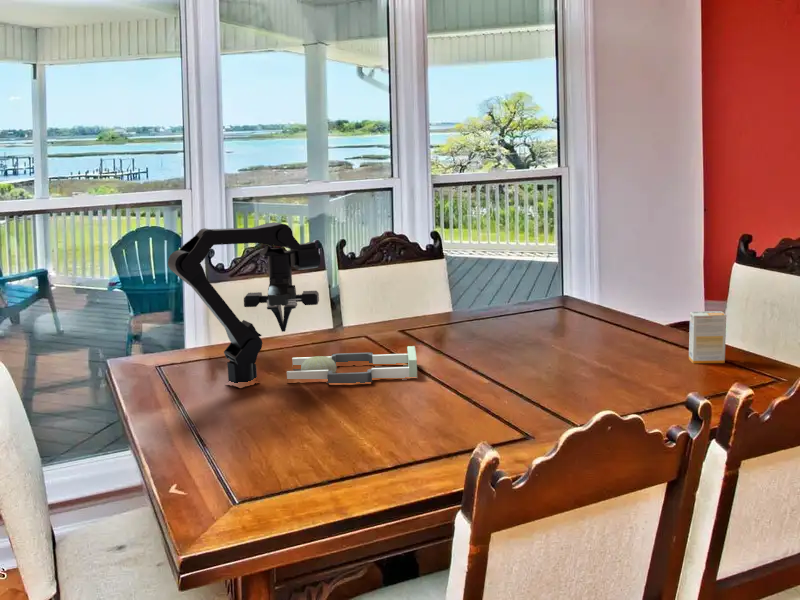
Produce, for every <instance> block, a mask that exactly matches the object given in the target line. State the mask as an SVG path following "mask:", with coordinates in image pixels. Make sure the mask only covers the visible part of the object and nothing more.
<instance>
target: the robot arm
mask: <svg viewBox="0 0 800 600" xmlns="http://www.w3.org/2000/svg"><path fill="white" fill-rule="evenodd" d="M241 244H242V245H243V244H263V245H265V246H264V248H263V249H262V250H261V251H259V255H260V256H262V257H268V258H267V261H268V280H269V285H268V289H267V295H263V293H262V292H257V291H256V292H248V293H247V294H246V295H245V296H244V297H243V307H244V308H256V307H258V306H259V305H260V304H266V310H269V311H272V313H273V314H274V317H275V319H276V320H277V323H278V325H279V327H280V331H281V332H282V333H285V332H286V330H287V326H288V322H289V318H290V315H291V313H292V310H293V309H296V308H297V306H298V302H299V303H300V302H301V303H302V304H303V305H304V306H315V305H318V304H319V302H320V295H319V294H320V293H319V292H318V291H317V290H303V291H302V292H301V294H300V293H299V294H297V289H296V285H295V284H294V285H293V276H292V273H293V272H292V267H293V268H294V269H295V270H296V271H300V270H309V269H316V268H319V267H320V265H321V255H320V252H319V250H318V248H317V243H316V242H313V241H309V242H305V243H299V242H298V240H297V239H296V238H295V237H294V235H293V230H292V229H291V227H290V226H289V225H288V224H287V223H286V224H285V223H280V222H268V223H263V224H260V225H257V226H253V227H240V228H239V227H237V228H235V227H234V228H202V229H200V230H198V232H197V233H196V234H195V235H194V236H193V237H192V238H190V239H189V240H188V241H187V242H185V243H184V244H183V245H182V246H181V247H180V249H179V250H175V251H173V252H172V253H171V254H170V255H169V257H168V259H167V265H168V266H167V267H168V268H169V270H170V271H171V272H173V273H174V274H175V275H176V276H177V277H178V278H180V279H181V280H182V281H183V282H184V283H186V284H188V286H189V287H191V288H192V289H193V291H194V292H195V293H196V295H198V297H199V298H200V300H201V301H202V302H203V303H204V304H205V305H206V307H207V308H208V310H210V312H211V313H212V314H213V315H214V316H215V318H216V319H217V321H219V323H220V324H221V325H222V326H223V328H224V329H225V332H226V335H227V337H228V339H229V341H230V344H229V345H227V347H226V348H225V349H224V351H223V354H224V357H225V358H226V359H227V360H229V361H227V363H226V364H227V366H226V367H227V376H228V377H227V379H228V380H227V381H228V382H229V381H231V382H234V383H238V382H248V381H251V380H253V379H254V378H256V377H257V378H258V374H257V373H258V371H257V364H256V363H257V362H256V361H257V359H258V355H259V353H260V352H261V351H262V348H263V340H262V338H261V337H262V336H263V335H262V334H261V333H259V332H258V331H257V330H256V329H257V328H256V327H255V325H254V324H253V323H252V322H250V321H247V320H245V319H243V320H242V321H241V320H240V319H239V318H238V317H237V315H236V314H235V313H234V312H233V310H232V309H231V308H230V306H229V305H228V304H227V302H226V301H225V300H224V298H223V297H222V296H221V295H220V294H219V292H218V291H217V290H216V289H215V288H214V286H213V285H212V283H211V282H210V281H209V280H208V277H207V276H206V272H205V270H204V267H203V265H202V264H201V263H202V262H203V261H204V260H205V258H206V257H207V255H208V254H209V252H210V251H211V249H212V248H213V246H218V245H221V246H222V245H241ZM271 246H274V247H275V248H271ZM283 248H286V249H290V250H284V249H283ZM282 306H283V310H282Z"/></svg>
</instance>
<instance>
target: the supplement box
mask: <svg viewBox="0 0 800 600" xmlns="http://www.w3.org/2000/svg"><path fill="white" fill-rule="evenodd" d="M726 329H727V314H726V313H725V312H723V311H719V310H718V311H717V310H716V311H715V310H714V311H713V310H712V311H711V310H710V311H707V310H706V311H690V312H689V333H688V334H689V335H688V336H689V341H688V342H689V343H688V360H689V361H690V362H691V363H692V364H725V361H726V336H727V335H726V334H727V333H726V332H727V330H726Z"/></svg>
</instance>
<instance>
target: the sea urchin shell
mask: <svg viewBox="0 0 800 600" xmlns="http://www.w3.org/2000/svg"><path fill="white" fill-rule="evenodd" d="M310 357H311V358H308V359H306V360H305V361H304V362H303V363H302V365H301V369H300V371H306V370H329V371H332V373H337V372H336V371H337V368H338V367H337V366H336V363H335V362H334V361H333V360H332V359H331V358H328V357H327V356H326V355H323V356H322V355H321V356H320V355H317V356H310Z"/></svg>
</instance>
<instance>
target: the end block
mask: <svg viewBox="0 0 800 600" xmlns="http://www.w3.org/2000/svg"><path fill="white" fill-rule="evenodd" d="M406 348H407V349H406V350H407V354H408V365H407V367H409V377H417V378H418V364H417V363H418V360H417V352H416V346H415V345H412V346H411V345H410V346H409V345H408V346H407V347H406Z"/></svg>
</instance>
